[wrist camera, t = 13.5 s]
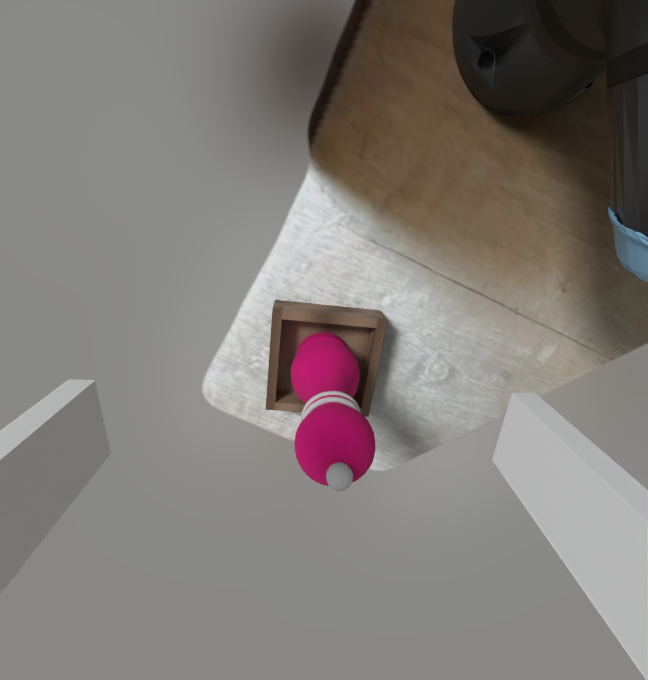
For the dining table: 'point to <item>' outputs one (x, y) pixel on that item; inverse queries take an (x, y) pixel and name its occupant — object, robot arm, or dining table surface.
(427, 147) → the dining table surface
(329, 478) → the pepper mill
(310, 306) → the holder tray
